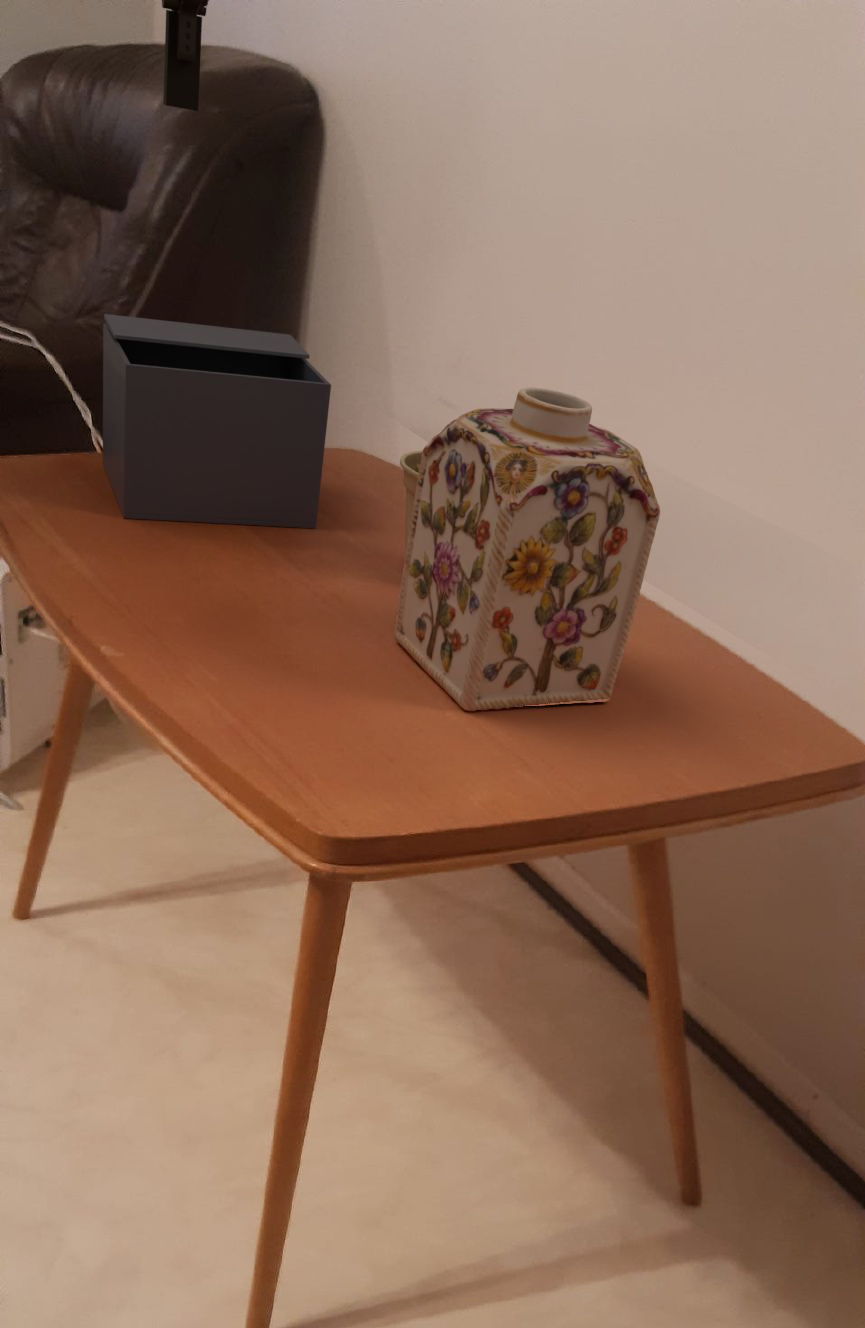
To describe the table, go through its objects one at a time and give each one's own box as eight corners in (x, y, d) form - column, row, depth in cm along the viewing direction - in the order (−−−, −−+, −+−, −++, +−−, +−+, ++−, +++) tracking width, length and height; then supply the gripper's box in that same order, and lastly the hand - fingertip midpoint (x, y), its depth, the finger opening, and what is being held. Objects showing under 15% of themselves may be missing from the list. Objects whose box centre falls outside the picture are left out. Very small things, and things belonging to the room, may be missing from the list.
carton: (123, 518, 97) (125, 364, 90) (102, 464, 107) (103, 322, 100) (315, 528, 102) (331, 384, 96) (278, 476, 112) (290, 343, 106)
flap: (114, 338, 95) (114, 334, 95) (104, 317, 100) (104, 313, 100) (309, 359, 101) (309, 355, 100) (290, 338, 105) (290, 334, 105)
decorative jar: (388, 638, 85) (429, 364, 75) (530, 634, 91) (587, 376, 80) (463, 717, 77) (521, 421, 67) (615, 707, 82) (690, 431, 72)
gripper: (130, -274, 94) (125, 93, 107) (156, -300, 84) (147, 107, 98) (227, -247, 96) (210, 108, 110) (262, -270, 87) (239, 122, 100)
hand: (180, 107), depth 104 cm, fingers closed
